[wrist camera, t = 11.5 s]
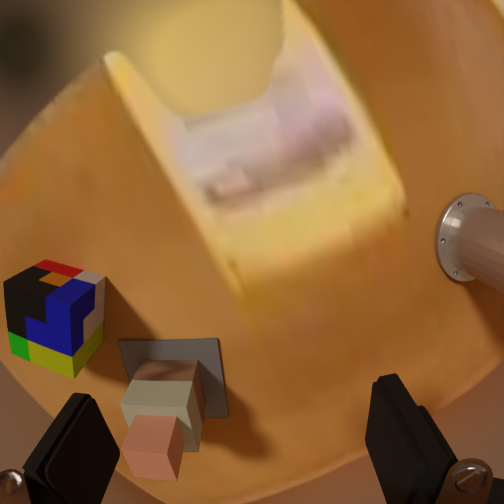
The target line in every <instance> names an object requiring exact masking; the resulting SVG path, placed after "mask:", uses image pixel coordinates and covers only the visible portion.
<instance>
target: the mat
mask: <svg viewBox="0 0 504 504" xmlns="http://www.w3.org/2000/svg"><path fill="white" fill-rule="evenodd" d="M118 343H119V347H120V350H121V354H122V357H123V361H124V364H125V368H126V371H127V374H128V377H129V381H130V383H131V381H132V379H133V377H134V375H135V373H136V371H137V369H138V367H139V365H140V363H141V361H142V360H198V364H199V369H200V374H201V380H202V385H203V390H204V395H205V400H206V408H205V414H204V418H223V417H229V413H228V407H227V400H226V394H225V387H224V381H223V374H222V367H221V360H220V353H219V346H218V339H217V338H207V339H177V340H119V341H118Z"/></svg>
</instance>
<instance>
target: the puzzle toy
mask: <svg viewBox="0 0 504 504" xmlns="http://www.w3.org/2000/svg"><path fill="white" fill-rule="evenodd" d="M105 282H106V276H104V275H100V274H97V273H93V272H89V271H85V270H82V269H78V268H74V267H71V266H67V265H63V264H60V263H56V262H53V261H49V260H44V261H42V262H40V263H38V264H36V265H34V266H32V267H30V268H28V269H26V270H24V271H22V272H21V273H19V274H17V275H15V276H13V277H11V278H9V279H8V280H6V281H4V282H3V285H4V298H5V309H6V318H7V327H8V334H9V341H10V347H11V353H12V354H14V355H17V356H19V357H21V358H23V359H25V360H28V361H30V362H32V363H34V364H37V365H39V366H41V367H44V368H46V369H49V370H51V371H54V372H56V373H59V374H61V375H64V376H66V377H69V378H72V379H75V377H76V376H77V375H78V373H79V372H80V371H81V369H82V368H83V367H84V365H85V364H86V363H87V361H88V360H89V359H90V357H91V356H92V355H93V354H94V352H95V351H96V350H97V348H98V347H99V346H100V344H101V343H102V342H103V328H104V299H105Z"/></svg>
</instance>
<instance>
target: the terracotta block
mask: <svg viewBox="0 0 504 504" xmlns="http://www.w3.org/2000/svg"><path fill="white" fill-rule="evenodd" d="M183 449H184V441H183V438H182V435H181V431H180V427H179V424H178V420H177V416H158V415H142V414H135V416H134V419H133V421H132V423H131V426H130V428H129V431H128V433H127V436H126V438H125V441H124V443H123V446H122V448H121V450H122V452H123V455H124V457H125V459H126V461H127V463H128V465H129V467H130V469H131V471H132V473H133V475H134V477H141V478H150V479H159V480H169V481H177V479H178V474H179V469H180V464H181V459H182V454H183Z"/></svg>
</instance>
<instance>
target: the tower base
mask: <svg viewBox="0 0 504 504" xmlns="http://www.w3.org/2000/svg"><path fill="white" fill-rule="evenodd" d="M132 380H142V381H193V386H194V391H195V395H196V400H197V404H198V409H199V413H200V417H201V422H202V426H203V421H204V414H205V408H206V400H205V395H204V390H203V385H202V380H201V374H200V369H199V364H198V360H142V361H141V363H140V365H139V367H138V369H137V371H136V373H135V375H134V377H133V379H132Z"/></svg>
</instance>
